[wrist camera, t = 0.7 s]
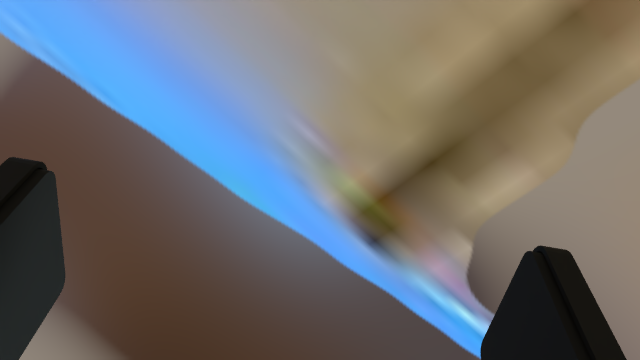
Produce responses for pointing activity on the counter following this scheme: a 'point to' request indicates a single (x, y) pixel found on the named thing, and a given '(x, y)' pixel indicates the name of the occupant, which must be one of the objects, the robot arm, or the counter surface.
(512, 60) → the counter surface
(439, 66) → the counter surface
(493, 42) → the counter surface
